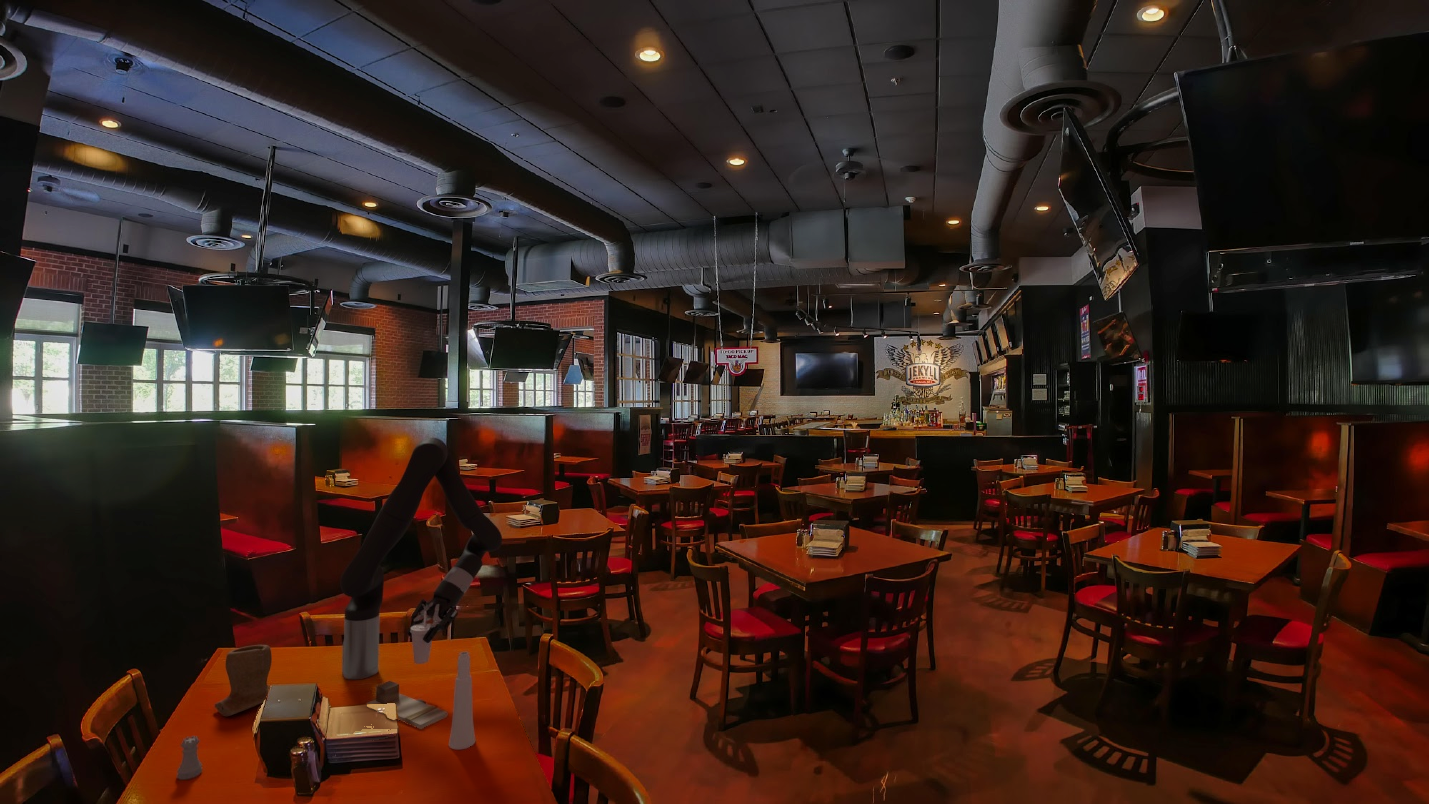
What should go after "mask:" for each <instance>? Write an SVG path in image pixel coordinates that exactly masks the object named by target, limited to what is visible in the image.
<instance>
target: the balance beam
mask: <svg viewBox="0 0 1429 804" xmlns="http://www.w3.org/2000/svg"><path fill="white" fill-rule="evenodd" d="M375 688H376V689H375V699H373V700H371V701H368V702H366V705H367V704H387V703H395V704H396V706H397V714H398V719H400V720H401V721H405V722H406V723H408V724H411V725H413V726H416V727H417V728H416V727H415V728H416V729H418V728H419V730H422V729H425V728H426V726H427V727H429V726H431V725H433V724H435V723H437V722H439V721H441V720H443V719H446V718H447V717H448V711H446V710H443V709H441V708H438V707H437V706H434V705H431V704H428V703H427V701H426V700H424V699H423V700H422V699H420V698H418V699H414V698H412V697H409V696H407V695H403V694H401V693H400V683H397V682H394V681H392V680H388V681H386V682H383V683H380V684H378V685H376V686H375ZM401 721H400V722H401ZM406 723H405V724H406ZM408 724H407V725H408ZM430 724H431V725H430ZM411 725H410V726H411ZM428 725H429V726H428ZM413 726H412V727H413ZM424 727H425V728H424Z"/></svg>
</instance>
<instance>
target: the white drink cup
mask: <svg viewBox="0 0 1429 804" xmlns="http://www.w3.org/2000/svg"><path fill="white" fill-rule="evenodd" d="M426 615H427V613H426V612H424V623H421V624H416V625H414V626H412V627H411V630H410V632H411V633H412V637H411V640H412V652H413V653H412V654H413V660H414V661H413V662H414V663H415V664H419V665H421V664H426V663H428V662H429V661H430V660H429V659H430V654H431V650H432V649H431V648H432V644H433V643H432V642H433V639H432V640H431V641H430V642H429V643H426V642H425V641H424V640H423V637H424V636H425V635H426V633H427V632H428V630H429V629H430V627H432V625H433V623H429V622H427V621H426Z"/></svg>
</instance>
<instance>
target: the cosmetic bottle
mask: <svg viewBox="0 0 1429 804" xmlns="http://www.w3.org/2000/svg"><path fill="white" fill-rule="evenodd" d="M458 655H459V656H458V658H457V676H456V677H455V681H454V696H453V710H452V711H453V712H452V720H451V721H452V723H451V729H450V730H451V731H450V736H449V741H448V747H449V748H450V749H451V750H459V751H460V750H466V749H469V748H470V746H471V747H472V746H474V745H475V743H476V736H475V728H474V719H473V718H474V716H473V715H474V714H473V682H472V675H471V673H470V671H471V657H470V652H469V651H461V652H459V653H458Z"/></svg>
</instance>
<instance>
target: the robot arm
mask: <svg viewBox="0 0 1429 804" xmlns="http://www.w3.org/2000/svg"><path fill="white" fill-rule="evenodd" d="M434 477H435V479H436V480H437V481H438V484H439V485H440V486H441V489H442V491H443V493H444V495H445V498H446V501H447V503H448V505H449V507H450V508H451V511H452V512H453V514H454V516H455V517H456V519H457V520H458V522H459V523H460V525H461V526H462V527H463V528H464V529H465V530H469V531H470V532H471V533H472V535H471V536H470V537H469V538H468V540H467V542H466V545H465V547H464V549H463V551H462V554H461V556H460V557H459V558H458V560H457V561H456V562H455V564H454V565H453V567H451V569H450V570H449V571H448V572H447V574H446V575H445V576H444V578H443V579H442V580H441V581H440V583H439V585H437V587H436V589H435V590H434V592H433V597H432V598H431V599H430V600H429V601H428V600H425V599H421V600H420V602H419V603H418V605H417V606H416V608H415V610H414V611H413V613H412V614H411V616H410V618H411V620H413V622H412V624H411V625H410V627H409V628H408V630H407V631H406V635H407V636H408V637H409V638H412V633H411V632H410V630H411V627H412V626H414V625H416V624H421V623H424V612H426V622H428V621H430V620H431V619H432V620H433V622H432V624H433V625H432V627H430V629H429V630H428V632H427V633H426V635H425V636H424V637H423V640H424V641H425V642H426V643H429V642H430V641H431V640H432V641H433V639H434V637H435V636H436V635H437V633H438V632H440V631H442V632H443V631H444V632H445V631H446V630H447V629H448V628H449V627H450V625H451V624H452V622H453V621H454V620H455V619H456V617H457V616H458V615H459V612H458V611H457V610H456V609H455V607H457V606H458V604H459V603H460V601H461V600H462V598H464V597H463V596H465V594H466V593H467V591H468V589H469V588H470V587H471V585H472V582H473V581H474V580H475V578H476V577H477V576H478V574H479V571H480V570H481V569H482V567H483V565H484V564H483V563H484V562H483V558H484V556H485V555H486V553H487V552H488V553H489V552H494V551H496V550H499V549H500V547H502V543H503V536H502V533H501V531H500V530H499V529H500V528H498V527H497V526H496V525H495V523H494V522H493V521H492V520H491V519H490V518H489V517H488V516H487V515H485V514H484V512H483V511H482V509H481V507H480V506H479V504H478V502H477V501H476V498H474V496H473V495H472V493H471V492H470V490H469V489H468V487H467V485H466V483H465V482H464V481H463V479H462V477H461V475H460V473H459V471H458V469H457V468H456V465H455V463H454V461H453V459H452V457H451V453H450V452H449V448H448V446H447V445H446V443H445V442H444V441H443V440H442V439H440V438H438V437H433V436H432V437H430V436H429V437H426V438H424V439H422V440H421V441H420V442H419V443H418V444H417V445H416V446H415V447H414V448H413V451H412V453H411V456H410V458H409V461H408V464H407V465H406V468H405V470H404V472H403V475H402V477H401V478H400V480H399V482H398V483H397V484H396V486H395V487H394V488H393V489H392V490H391V493H390V494H389V496H388V497H387V499H386V500H385V501H384V503H383V505H382V507H381V509H380V510H379V512H378V514H377V516H376V518H375V520H374V522H373V523H372V526H371V527H370V529H369V530H368V532H367V535H366V536H365V538H364V540H363V542H362V544H361V546H360V548H359V549H358V551H357V552H356V554H355V555H354V557H353V558H352V560H351V561H350V563H349V564H348V565H347V566H346V568H345V569H344V571H343V572H342V574H341V577H340V580H339V585H340V589H341V592H342V593H343V594H344V595H345V596H346V597H350V600H349V601H348V604H347V605H346V607H345V610H344V629H343V630H344V633H343V634H344V636H343V637H344V639H343V642H342V660H341V661H342V662H341V664H342V665H341V667H342V669H341V673H342V674H343V676H342V677H344V679H346V680H347V679H348V680H361V679H362V680H363V679H367V678H370V677H372V676H374V675H376V674H377V673H378V672H379V661H380V660H379V658H380V657H379V655H380V654H379V653H380V651H379V649H380V610H381V606H382V603H383V599H384V583H385V575H384V571H383V566H381V563H382V562H383V560H384V558H385V557H386V556H387V555H388V553H390V552H391V550H393V548H394V547H395V546H396V545H397V544H398V542H399V541H400V540H401V539H402V538H403V536H404V535H405V533H406V532H407V530H408V529H409V527H410V526H411V523H412V521H413V519H414V518H415V516H416V514H417V511H418V510H419V507H420V504H421V501H422V499H423V495H424V493H425V491H426V490H427V487H428V486H429V484H430V483H431V481H432V480H433V478H434Z"/></svg>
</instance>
